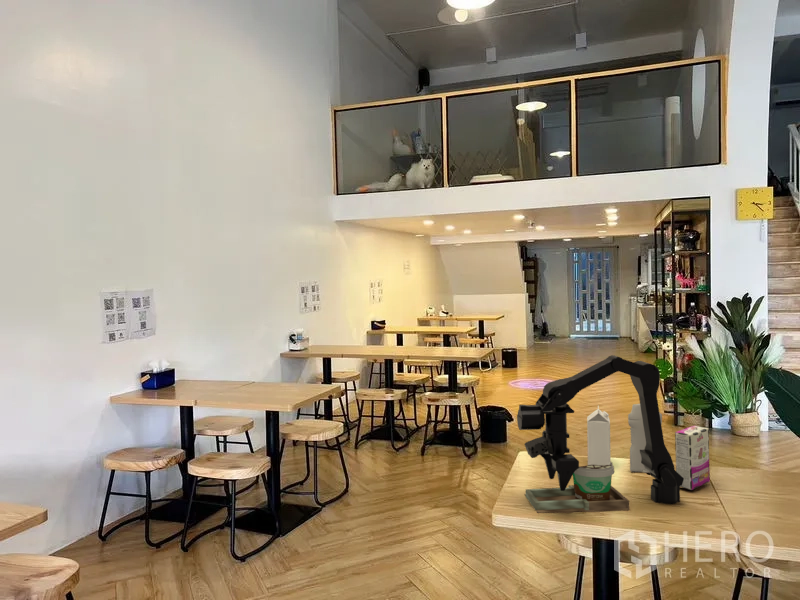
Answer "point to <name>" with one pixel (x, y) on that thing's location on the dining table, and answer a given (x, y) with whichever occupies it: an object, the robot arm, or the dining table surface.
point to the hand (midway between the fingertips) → (556, 484)
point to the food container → (593, 482)
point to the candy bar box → (693, 456)
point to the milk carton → (598, 438)
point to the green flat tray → (572, 501)
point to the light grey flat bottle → (637, 439)
